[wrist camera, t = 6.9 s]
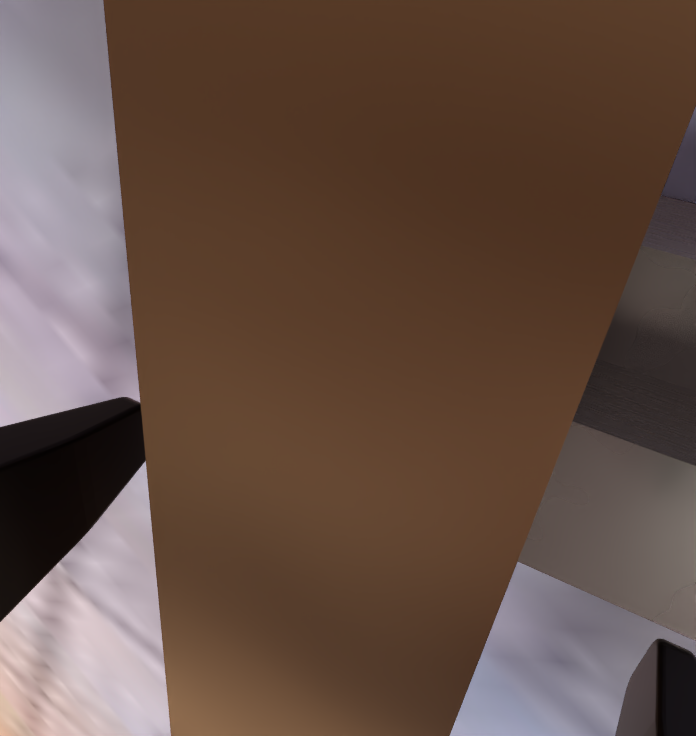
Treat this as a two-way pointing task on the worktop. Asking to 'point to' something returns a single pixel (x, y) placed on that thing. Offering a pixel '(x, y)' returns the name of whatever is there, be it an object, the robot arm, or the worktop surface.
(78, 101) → the worktop surface
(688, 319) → the ridge block
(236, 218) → the walnut bar
